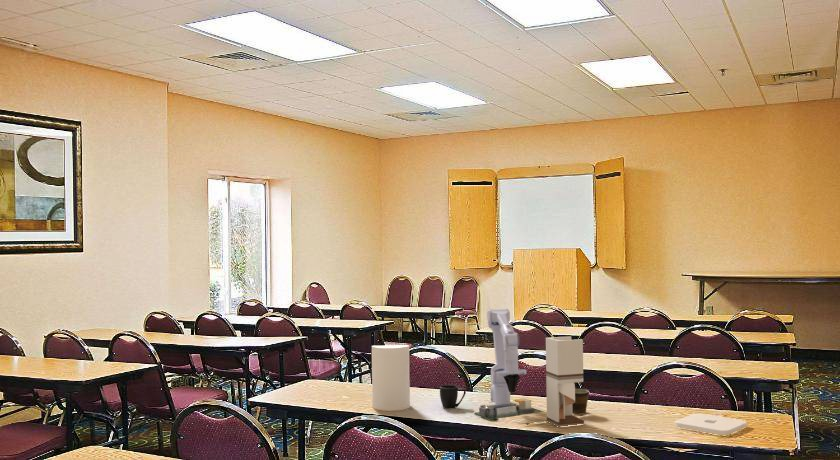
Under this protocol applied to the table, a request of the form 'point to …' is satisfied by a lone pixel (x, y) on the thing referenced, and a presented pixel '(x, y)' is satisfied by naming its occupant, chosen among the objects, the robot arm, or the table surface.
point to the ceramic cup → (580, 401)
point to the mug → (450, 396)
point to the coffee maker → (563, 378)
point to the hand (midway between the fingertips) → (511, 391)
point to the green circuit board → (502, 411)
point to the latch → (523, 403)
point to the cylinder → (390, 377)
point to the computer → (711, 423)
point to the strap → (499, 406)
